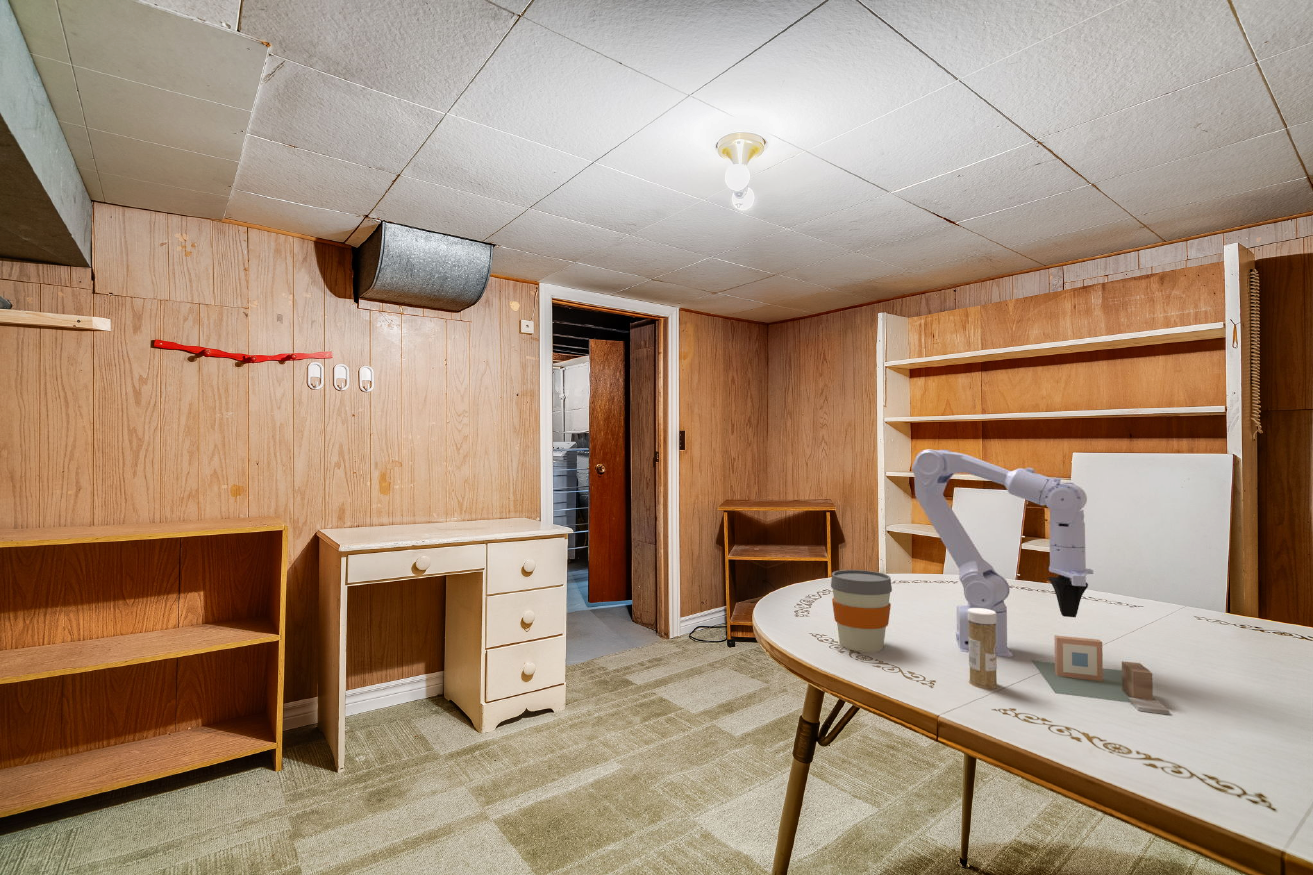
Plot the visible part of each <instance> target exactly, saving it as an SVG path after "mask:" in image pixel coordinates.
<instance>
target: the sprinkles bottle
mask: <svg viewBox="0 0 1313 875" xmlns="http://www.w3.org/2000/svg"><path fill="white" fill-rule="evenodd" d="M968 620H969V621H968V622H969V652H968V666H969V679H968V683H969V684H970V685H971V686H973V687H976V688H979V689H985V690H994V689H997V688H998V682H997V676H998V675H997V669H998V667H997V663H998V662H997V659H998V658H997V655H996V627H995V626H996V623H997V614H996V612H995V611H993V610H989V609H984V608H970V609H968Z"/></svg>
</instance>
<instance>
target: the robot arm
mask: <svg viewBox="0 0 1313 875" xmlns="http://www.w3.org/2000/svg"><path fill="white" fill-rule="evenodd" d="M911 471H912V473H913V476H914V480H913V481H914V493H915V495H914V496H915V497H916V500H917V502H918V503H919V505H920V506H921V509H922V510H923V512H924V514H925V516H926V517H927V518H928V520H929V522H930V523H931V525H932V526H933V528H934V530H935V531H936V534H938V536H939V538H940V540H941V542H942V543H943V545H944V546H945V548H946V549H947V551H948V553H949V554H950V556H951V558H952V560H953V561H954V563H955V565H956V566H957V568H958V579H959V581H960V583H961V584H962V587H963V595H964V599H965V600H966V601H967V605H957V606H956V632H955V639H956V643H957V646H958V648H959V651H960V652H964V653H969V622H968V621H969V620H968V609H970V608H984V609H989V610H993V611H995V612H996V614H997V623H996V626H995V627H996V656H999V657H1009V658H1012V657H1013V656H1014V655H1013V653H1012V652H1011V650H1010V649H1009V647H1008V607H1007V606H1006V604H1005V600H1006V599H1007V598H1008V597H1009V595H1010V589H1011V588H1010V586H1009V585H1010V584H1009V582H1008V581H1007V579H1006V578H1004V577H1003V576H1002V575H1001V574H999V573H998V572H997V571H996V570H995V569H994V567H993V566H992V564H990V563H989V562H988V561H986V560H985V559H984V558H983V556H982V555H981V553H980V552H979V550H978V549H977V547H976V546H975V544H974V542H973V541H972V539H971V538H970V536H969V535H968V533H967V531H966V529H965V528H964V527H963V524H962V523H961V522H960V520H959V518H958V517H957V515H956V513H955V512H954V510H953V509H952V507H951V506H950V504H949V502H948V500H947V499H946V498H945V496H944V492H945V489H946V487H947V484H948V482H949V481H950V479H951V478H952V477H953V476H954V475H955V474H961V473H962V474H963V473H964V474H965V473H966V474H968V475H972V476H975V477H979V478H981V479H984V480H987V481H991V482H994V483H996V484H1000V485H1003V486H1004V487H1005V489H1006V491H1007V492H1008V494H1010V495H1012V496H1015V497H1018V498H1021V499H1024V500H1026V501H1028V502H1031V503H1034V504H1037V505H1040V506H1046V507H1047V509H1049V522H1048V524H1049V527H1048V528H1049V566H1048V571H1049V572H1050V573H1053V574H1057V577H1055V576H1050V577H1048V580H1049V582H1050V583H1051V586H1052V587H1053V588H1052V589H1053V590H1054V593H1055V596H1056V600H1057V603H1058V608H1059V611H1060V615H1062V617H1065V618H1076V617H1077V615H1078V612H1079V607H1080V603H1081V600H1082V597H1083V595H1084V593H1085V591H1086V590H1087V589H1088V587H1089V583H1088V582H1087V577H1086V576H1087V575H1094V570H1093V569H1091V568H1086V522H1085V514H1084V512H1085V511H1084V509H1083V508H1084V507H1085V506H1086V505H1087V501H1088V498H1087V497H1088V496H1087V494H1086V492H1085V490H1084V489H1083V488H1082V487H1080V486H1078V485H1077V484H1075V483H1074V482H1063V483H1061V480H1062V478H1059V477H1057V476H1056V477H1053V478H1052V477H1049V476H1045V475H1043V474H1040V473H1038V472H1037V473H1036V470H1035V469H1034V468H1032V467H1026V468H1022V467H1019V468H1016V469H1014V470H1012V471H1011V470H1009V469H1006V468H1003V467H1001V466H998V465H995V464H992V463H991V462H988V461H985V460H982V459H979V458H978V457H974V456H972V455H969V454H965V453H963V452H962V453H961V452H955V451H953V452H952V451H951V450H948V449H937V450H935V449H931V448H930V449H929V448H928V449H924V450H922V451H920V452H918V454H916V457H915V459H914V462H913V464H912V467H911Z"/></svg>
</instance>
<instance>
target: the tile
mask: <svg viewBox="0 0 1313 875" xmlns="http://www.w3.org/2000/svg"><path fill="white" fill-rule="evenodd" d="M1053 636H1054V637H1053V638H1054V663H1055V674H1056V675H1057V676H1062V677H1071V678H1079V679H1088V680H1096V681H1103V668H1104V664H1103V642H1102V640H1101V639H1098V638H1097V639H1095V638H1086V637H1076V636H1066V635H1065V636H1064V635H1056V634H1055V635H1053Z"/></svg>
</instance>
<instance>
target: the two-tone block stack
mask: <svg viewBox="0 0 1313 875" xmlns="http://www.w3.org/2000/svg"><path fill="white" fill-rule="evenodd" d="M1121 670H1122V691H1123V692H1124V693H1125V694H1126V695H1127V696H1128V700H1129V702H1128V703H1129V704H1131V705H1132V706H1133V707H1134V708H1135V709H1136V710H1137V711H1139V712H1143V713H1144V712H1146V713H1154V714H1160V715H1170V710H1169V709H1168V708H1167V707H1166V706H1164V704H1162V703H1161V702H1160V701H1159V700H1157V701H1155V700H1153V697H1154V695H1153V694H1154V690H1153V688H1154V687H1153V685H1154V682H1153V672H1152V671H1150V670H1149V669H1148V668H1147V667H1145V666H1144V665H1143V664H1141V663H1140V662H1131V661H1124V660H1123V661H1121Z"/></svg>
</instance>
